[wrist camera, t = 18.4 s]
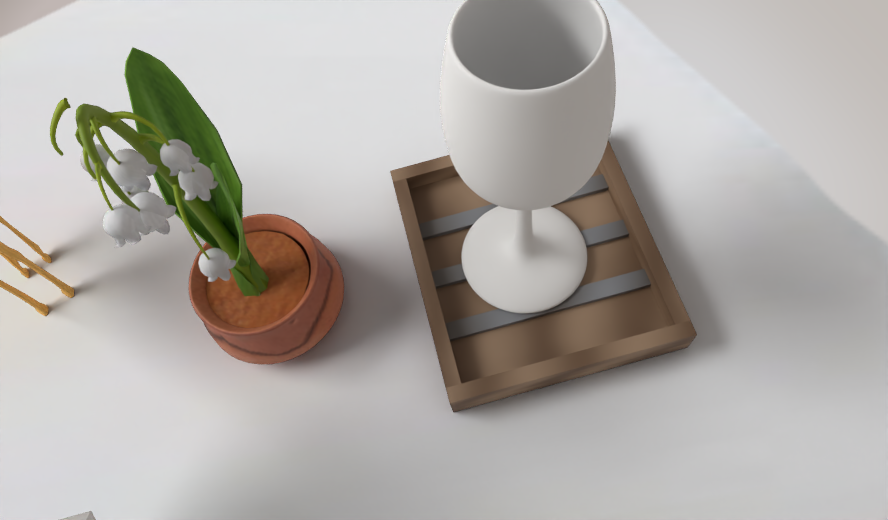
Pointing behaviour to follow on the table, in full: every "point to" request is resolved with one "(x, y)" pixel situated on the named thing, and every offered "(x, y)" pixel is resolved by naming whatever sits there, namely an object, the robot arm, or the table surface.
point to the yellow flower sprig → (15, 256)
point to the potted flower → (209, 219)
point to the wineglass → (526, 138)
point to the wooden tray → (550, 331)
